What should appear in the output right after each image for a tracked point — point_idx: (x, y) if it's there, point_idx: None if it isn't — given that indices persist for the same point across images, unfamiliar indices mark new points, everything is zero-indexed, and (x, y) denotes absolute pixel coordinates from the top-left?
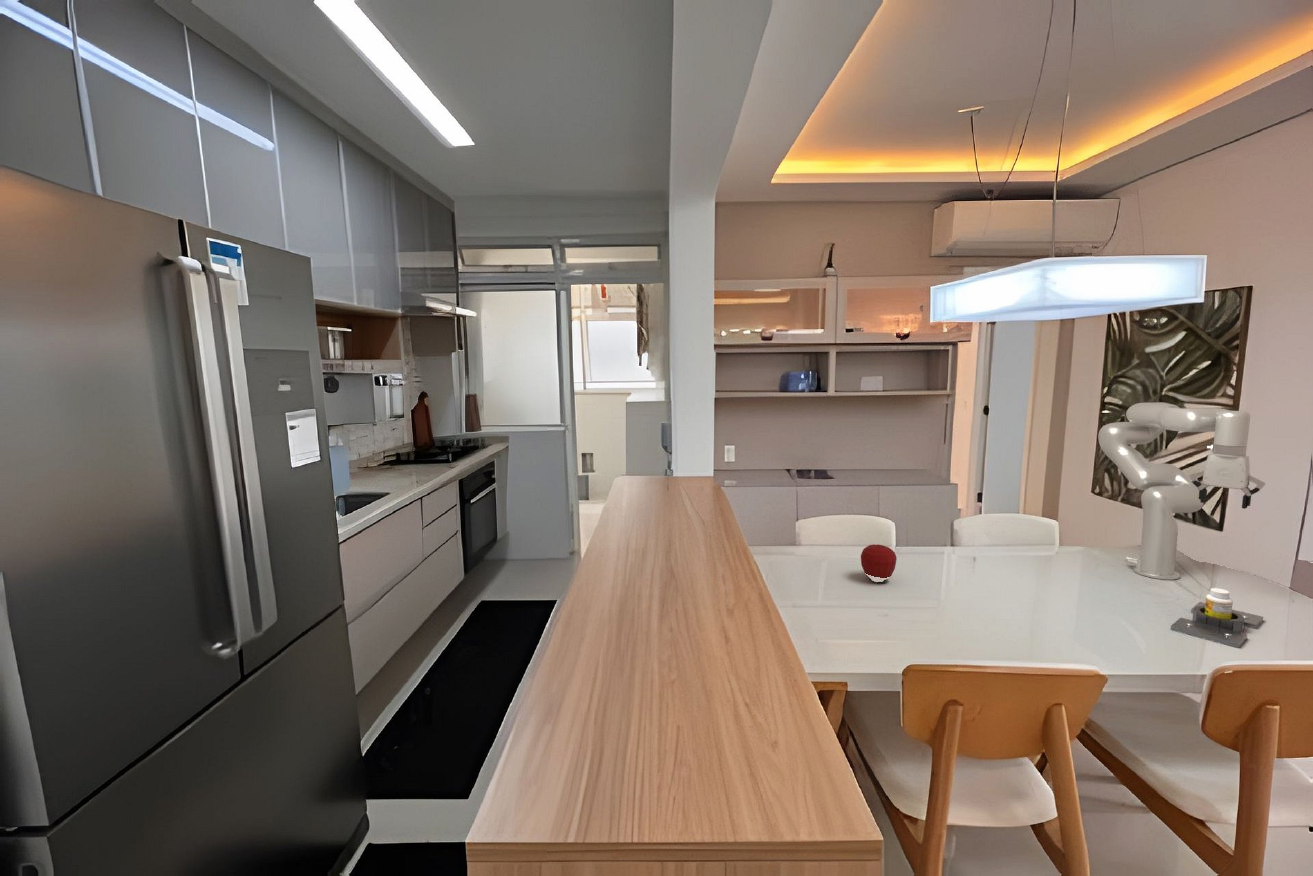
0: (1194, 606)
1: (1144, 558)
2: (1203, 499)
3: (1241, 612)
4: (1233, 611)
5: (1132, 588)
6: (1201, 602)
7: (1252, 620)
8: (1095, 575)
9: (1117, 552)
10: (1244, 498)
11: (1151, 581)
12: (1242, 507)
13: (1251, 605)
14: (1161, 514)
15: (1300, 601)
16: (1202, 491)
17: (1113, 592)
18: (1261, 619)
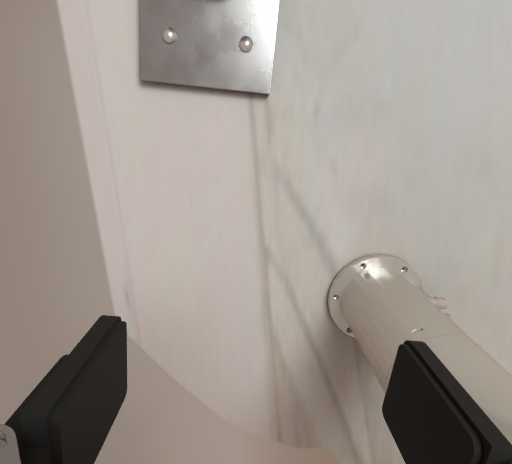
0: (275, 33)
1: (420, 292)
2: (417, 360)
3: (182, 75)
4: (197, 68)
5: (414, 123)
6: (266, 91)
7: (152, 18)
8: (499, 173)
9: None
10: (57, 386)
11: (378, 226)
12: (119, 323)
13: (181, 196)
14: (499, 394)
15: (116, 306)
16: (492, 436)
17: (455, 39)
18: (140, 56)
